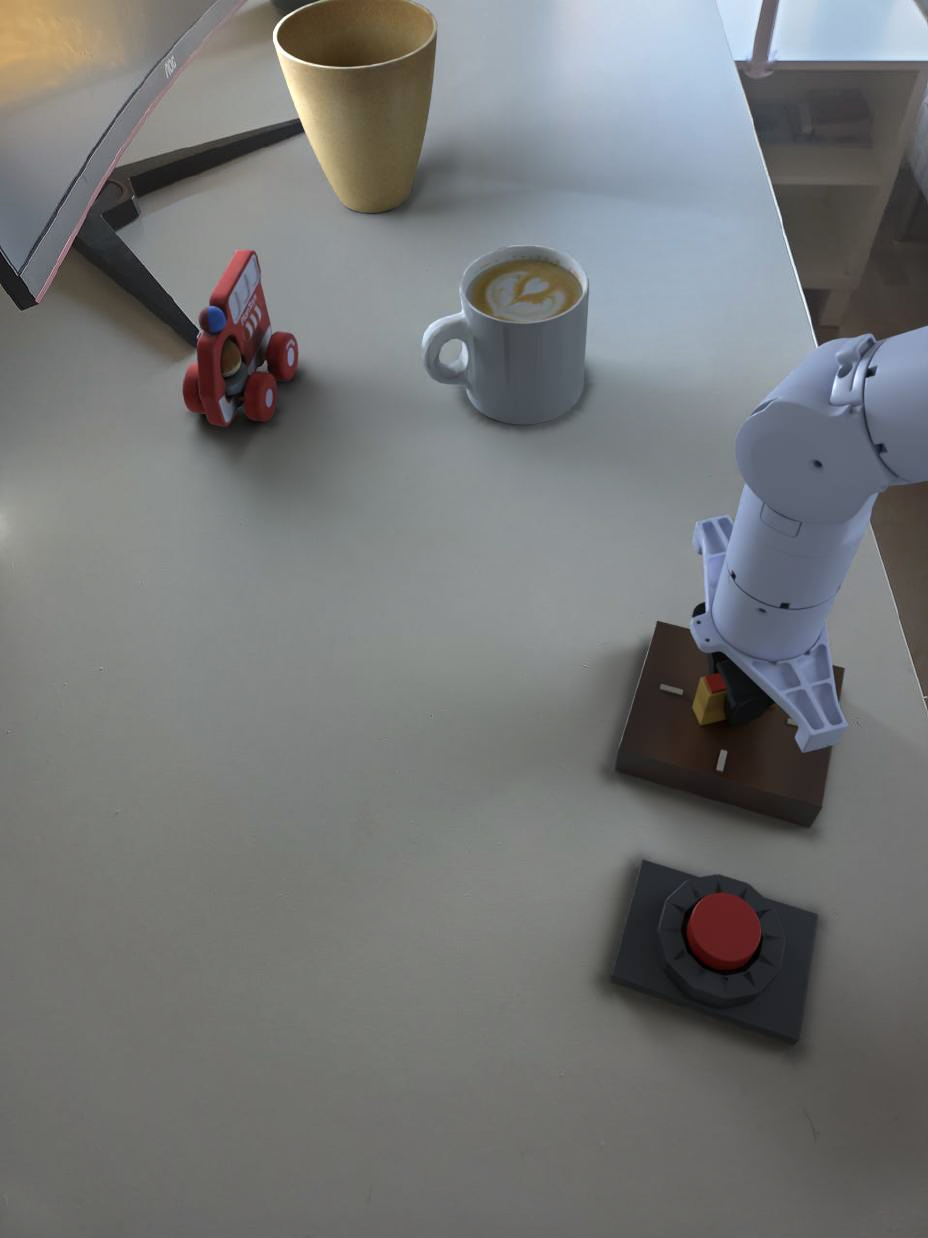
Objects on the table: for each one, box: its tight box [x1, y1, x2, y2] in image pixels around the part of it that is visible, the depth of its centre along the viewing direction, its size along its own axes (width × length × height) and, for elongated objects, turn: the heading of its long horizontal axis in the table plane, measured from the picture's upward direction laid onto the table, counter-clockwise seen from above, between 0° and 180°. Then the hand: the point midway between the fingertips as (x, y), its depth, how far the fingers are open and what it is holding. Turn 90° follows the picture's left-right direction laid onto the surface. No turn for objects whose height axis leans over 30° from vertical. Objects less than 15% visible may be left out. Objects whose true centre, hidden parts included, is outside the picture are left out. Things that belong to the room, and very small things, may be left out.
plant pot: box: [272, 0, 439, 214], centre depth 93 cm, size 15×15×16 cm
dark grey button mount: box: [609, 858, 819, 1046], centre depth 52 cm, size 10×7×3 cm
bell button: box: [687, 893, 761, 971], centre depth 51 cm, size 4×4×2 cm
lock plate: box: [614, 620, 846, 829], centre depth 60 cm, size 12×10×3 cm
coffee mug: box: [420, 244, 590, 426], centre depth 77 cm, size 13×10×10 cm
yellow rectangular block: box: [692, 673, 777, 725], centre depth 58 cm, size 5×1×4 cm, turn 104°
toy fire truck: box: [182, 248, 299, 428], centre depth 79 cm, size 7×12×10 cm, turn 166°
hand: (735, 703), depth 59 cm, fingers closed on yellow rectangular block
